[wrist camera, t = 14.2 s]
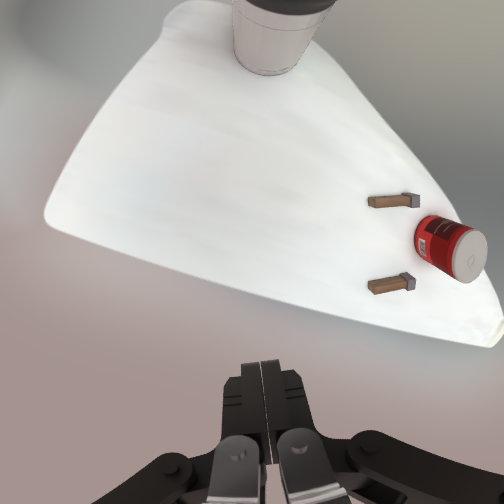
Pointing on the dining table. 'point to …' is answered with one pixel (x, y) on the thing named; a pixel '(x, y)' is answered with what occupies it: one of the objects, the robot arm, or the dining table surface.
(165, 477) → the robot arm
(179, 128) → the dining table surface
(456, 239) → the canned food
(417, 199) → the posts
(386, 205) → the channel walls
